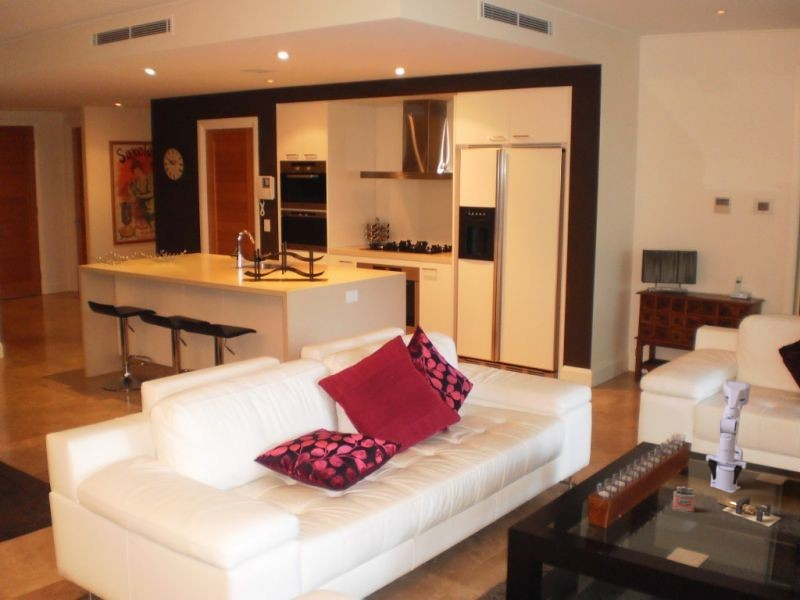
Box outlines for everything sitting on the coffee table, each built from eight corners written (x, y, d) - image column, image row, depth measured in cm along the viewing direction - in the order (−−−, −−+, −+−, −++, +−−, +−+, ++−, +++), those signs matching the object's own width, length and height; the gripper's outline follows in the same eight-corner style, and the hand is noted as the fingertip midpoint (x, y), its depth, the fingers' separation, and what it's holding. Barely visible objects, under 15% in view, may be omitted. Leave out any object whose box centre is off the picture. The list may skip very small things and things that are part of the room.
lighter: (671, 511, 321) (673, 487, 319) (672, 508, 324) (674, 483, 322) (694, 515, 318) (695, 490, 316) (694, 511, 321) (696, 487, 319)
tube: (717, 504, 326) (717, 496, 325) (720, 501, 328) (721, 494, 327) (752, 516, 315) (752, 508, 315) (755, 513, 317) (756, 506, 317)
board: (722, 511, 321) (723, 498, 320) (734, 503, 327) (735, 491, 326) (768, 527, 307) (769, 514, 306) (781, 519, 314) (782, 506, 313)
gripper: (704, 447, 325) (702, 480, 328) (744, 455, 317) (741, 489, 320) (709, 442, 331) (707, 474, 333) (748, 449, 322) (745, 482, 325)
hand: (724, 481), depth 327 cm, fingers open, 7 cm apart
